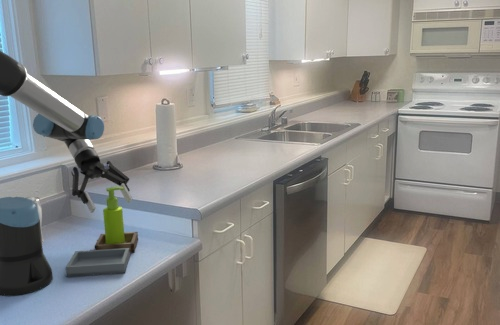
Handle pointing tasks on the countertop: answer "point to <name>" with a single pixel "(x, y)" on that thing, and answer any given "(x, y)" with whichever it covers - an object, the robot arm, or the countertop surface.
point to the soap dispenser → (113, 219)
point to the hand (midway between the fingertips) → (112, 205)
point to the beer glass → (37, 201)
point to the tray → (98, 262)
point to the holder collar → (128, 237)
